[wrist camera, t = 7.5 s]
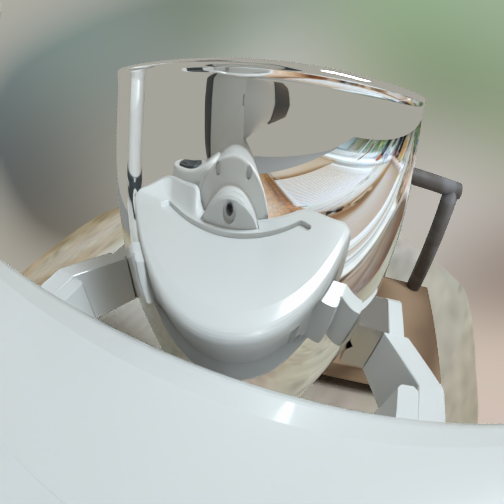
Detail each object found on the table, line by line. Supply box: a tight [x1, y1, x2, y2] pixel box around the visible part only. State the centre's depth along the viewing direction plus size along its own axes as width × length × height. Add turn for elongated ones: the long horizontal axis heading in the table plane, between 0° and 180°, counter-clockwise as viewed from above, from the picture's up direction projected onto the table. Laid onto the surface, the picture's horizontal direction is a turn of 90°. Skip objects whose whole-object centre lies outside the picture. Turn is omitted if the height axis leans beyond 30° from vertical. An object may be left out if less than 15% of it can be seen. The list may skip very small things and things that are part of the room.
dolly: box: [322, 168, 462, 384], centre depth 23 cm, size 16×13×17 cm
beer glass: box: [117, 58, 426, 398], centre depth 10 cm, size 7×7×15 cm
